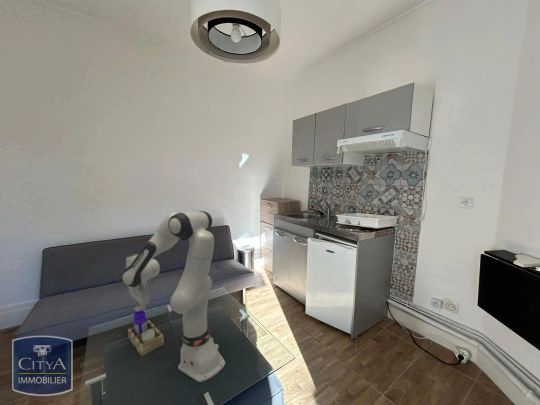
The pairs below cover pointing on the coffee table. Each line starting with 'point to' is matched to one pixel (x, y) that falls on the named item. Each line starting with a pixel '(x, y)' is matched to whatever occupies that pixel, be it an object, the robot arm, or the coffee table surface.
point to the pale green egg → (148, 335)
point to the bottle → (139, 321)
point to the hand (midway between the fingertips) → (140, 307)
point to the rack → (148, 345)
